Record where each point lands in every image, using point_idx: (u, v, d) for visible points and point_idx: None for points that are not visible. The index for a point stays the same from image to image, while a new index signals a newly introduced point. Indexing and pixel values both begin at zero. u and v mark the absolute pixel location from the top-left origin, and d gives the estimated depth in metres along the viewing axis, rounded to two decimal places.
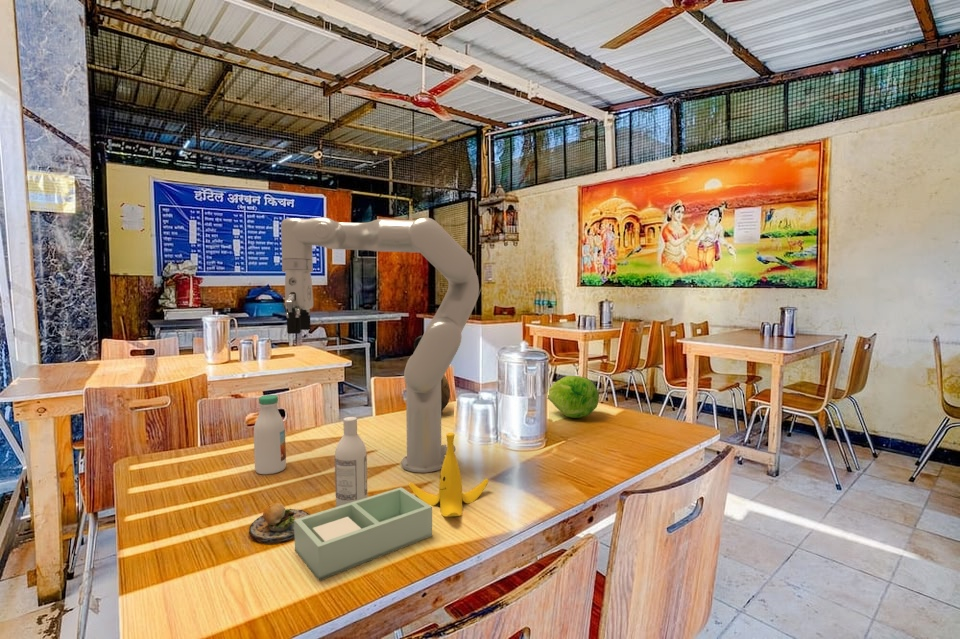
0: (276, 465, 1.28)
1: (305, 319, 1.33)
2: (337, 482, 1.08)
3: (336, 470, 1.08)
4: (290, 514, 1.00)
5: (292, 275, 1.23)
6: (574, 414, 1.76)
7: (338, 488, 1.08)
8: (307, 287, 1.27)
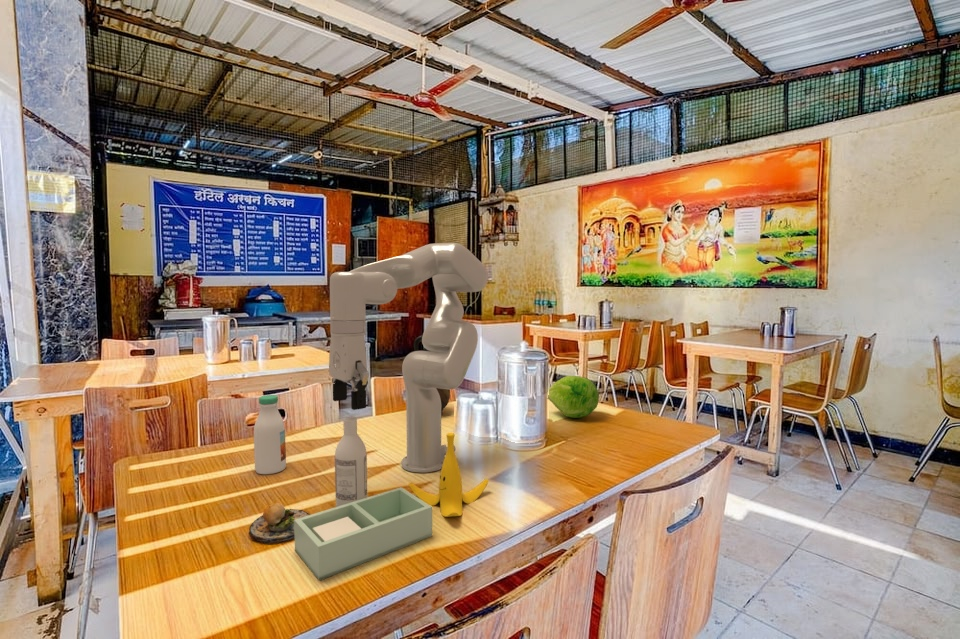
0: (276, 465, 1.28)
1: None
2: (337, 482, 1.08)
3: (336, 470, 1.08)
4: (290, 514, 1.00)
5: None
6: (574, 414, 1.76)
7: (338, 488, 1.08)
8: (333, 352, 1.07)
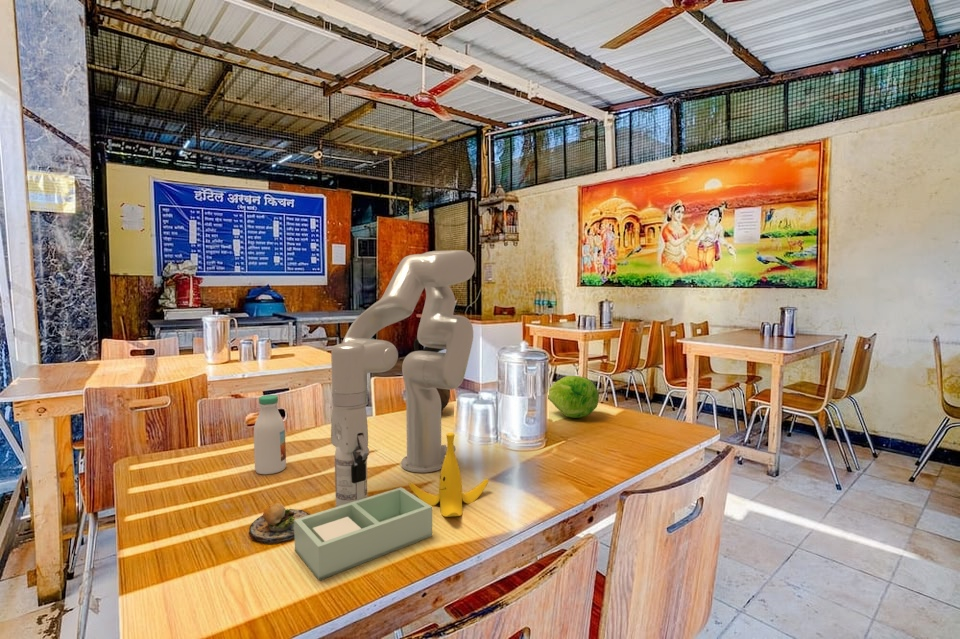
0: (276, 465, 1.28)
1: None
2: (337, 482, 1.08)
3: (336, 470, 1.08)
4: (290, 514, 1.00)
5: None
6: (574, 414, 1.76)
7: (338, 488, 1.08)
8: (335, 423, 1.09)
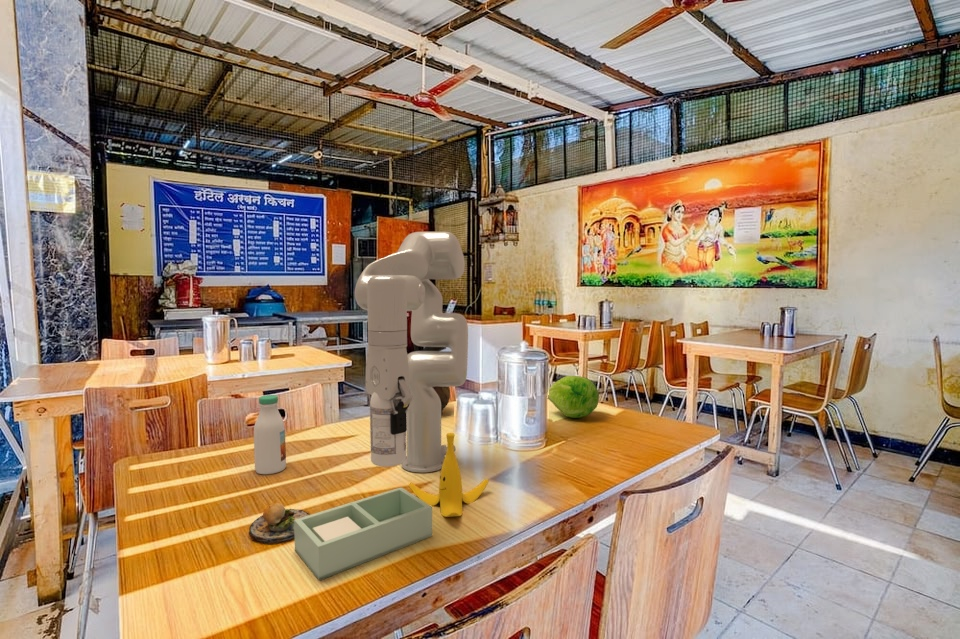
0: (276, 465, 1.28)
1: None
2: (373, 434, 0.94)
3: (372, 420, 0.94)
4: (290, 514, 1.00)
5: None
6: (574, 414, 1.76)
7: (375, 441, 0.94)
8: (371, 367, 0.95)
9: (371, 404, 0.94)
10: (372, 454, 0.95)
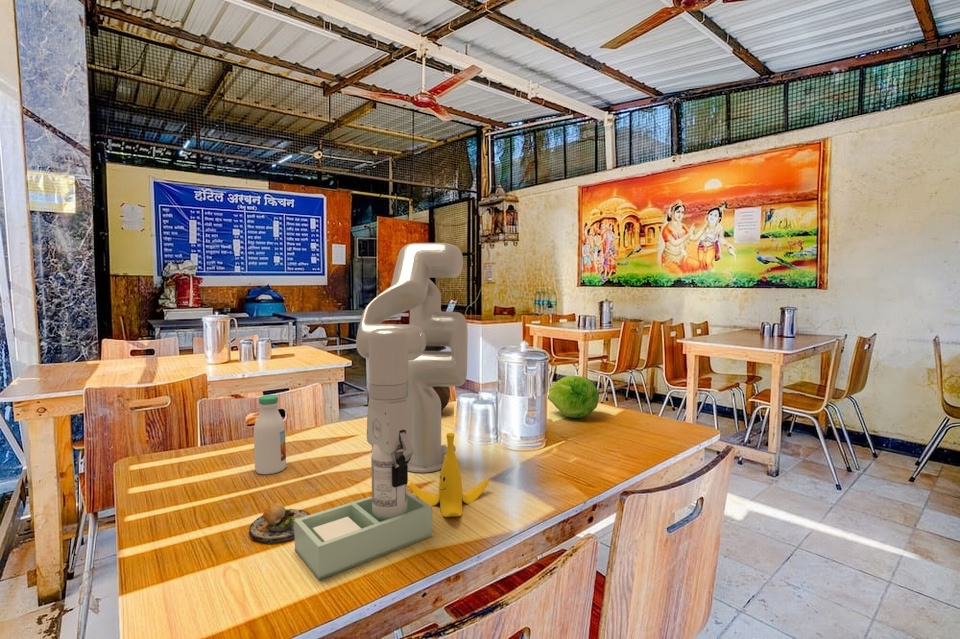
0: (276, 465, 1.28)
1: None
2: (374, 486, 0.95)
3: (373, 472, 0.95)
4: (290, 514, 1.00)
5: None
6: (574, 414, 1.76)
7: (376, 493, 0.94)
8: (372, 419, 0.96)
9: (372, 456, 0.95)
10: (373, 506, 0.95)
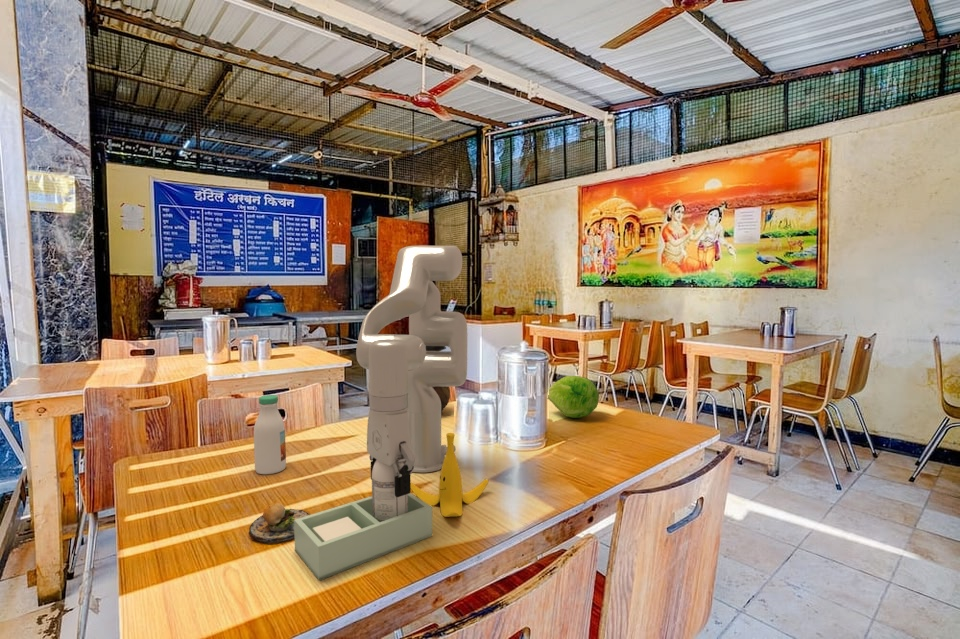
0: (276, 465, 1.28)
1: None
2: (375, 506, 0.95)
3: (374, 492, 0.95)
4: (290, 514, 1.00)
5: None
6: (574, 414, 1.76)
7: (377, 513, 0.95)
8: (372, 430, 0.96)
9: (373, 476, 0.95)
10: None
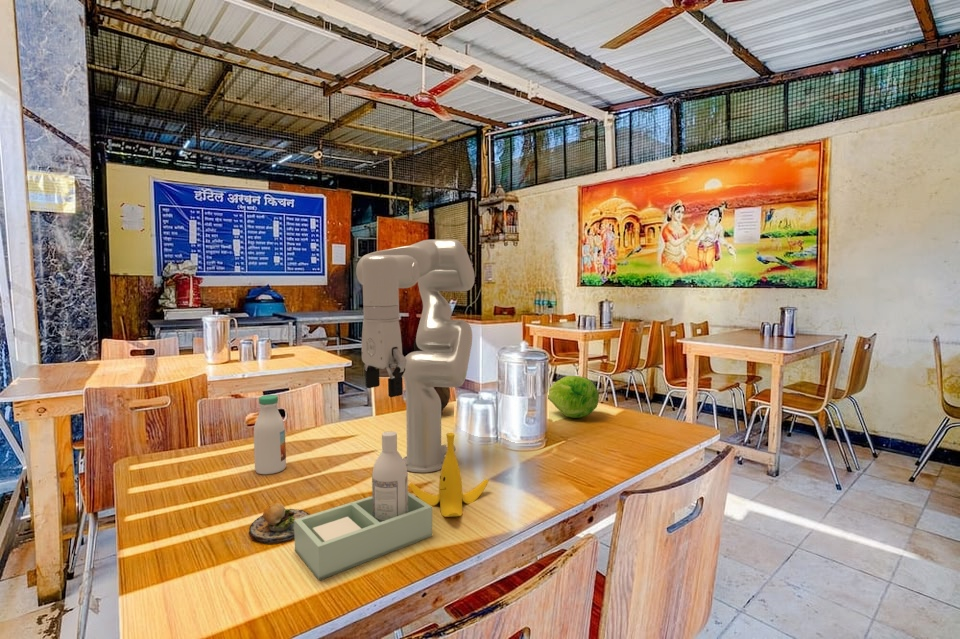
0: (276, 465, 1.28)
1: None
2: (375, 506, 0.95)
3: (374, 492, 0.95)
4: (290, 514, 1.00)
5: None
6: (574, 414, 1.76)
7: (377, 513, 0.95)
8: (366, 339, 1.04)
9: (373, 476, 0.95)
10: None
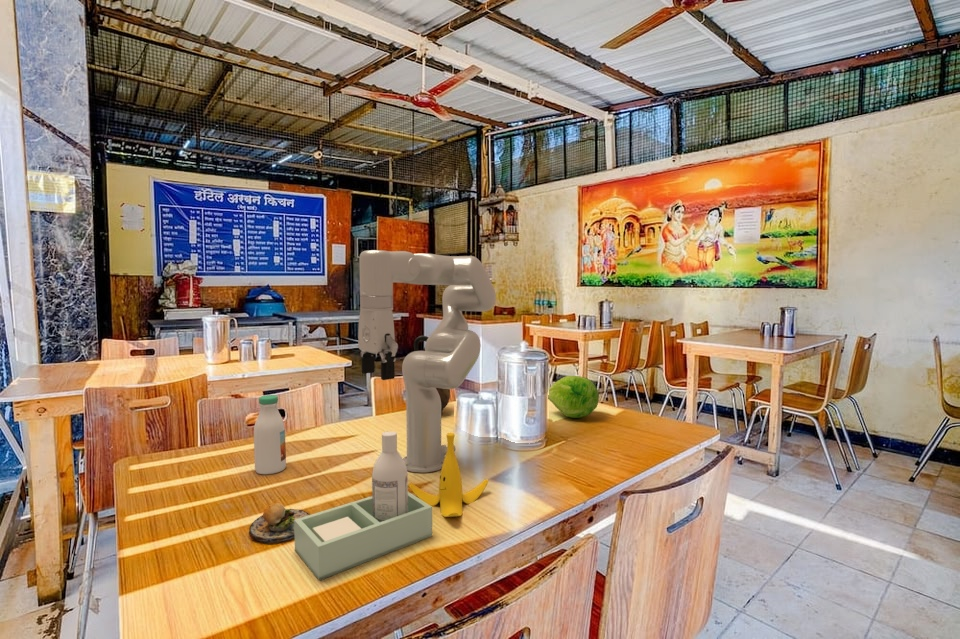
0: (276, 465, 1.28)
1: None
2: (375, 506, 0.95)
3: (374, 492, 0.95)
4: (290, 514, 1.00)
5: None
6: (574, 414, 1.76)
7: (377, 513, 0.95)
8: (362, 327, 1.14)
9: (373, 476, 0.95)
10: None
